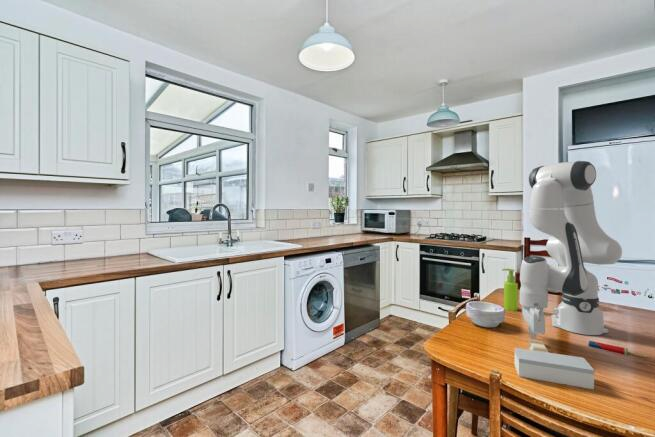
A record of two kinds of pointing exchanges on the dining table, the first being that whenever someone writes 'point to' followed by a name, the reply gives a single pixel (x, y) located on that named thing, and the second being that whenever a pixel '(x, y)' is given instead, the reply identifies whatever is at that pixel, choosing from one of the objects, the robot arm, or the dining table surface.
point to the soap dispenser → (510, 292)
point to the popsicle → (613, 349)
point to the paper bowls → (485, 313)
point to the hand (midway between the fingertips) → (532, 337)
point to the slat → (537, 346)
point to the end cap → (554, 368)
